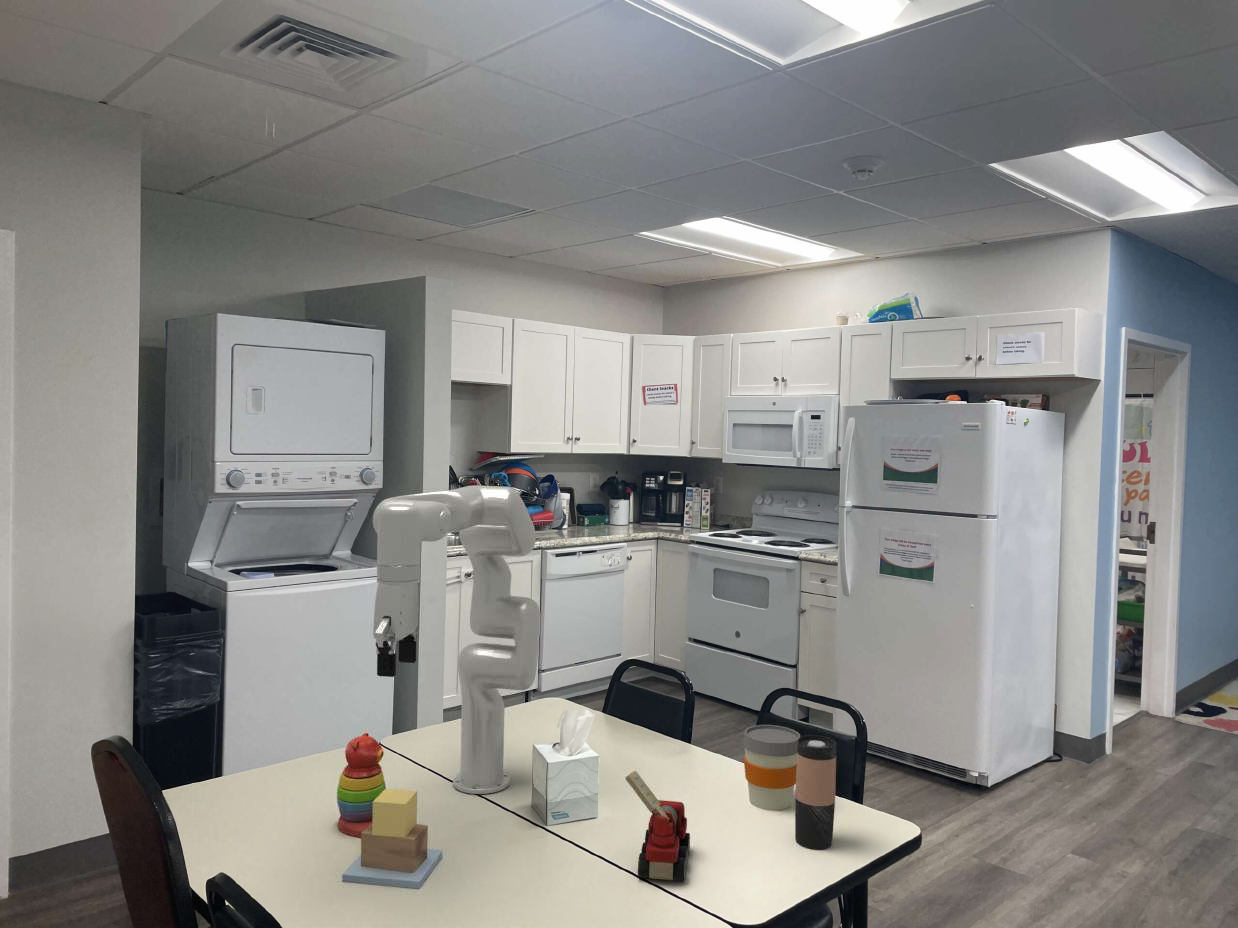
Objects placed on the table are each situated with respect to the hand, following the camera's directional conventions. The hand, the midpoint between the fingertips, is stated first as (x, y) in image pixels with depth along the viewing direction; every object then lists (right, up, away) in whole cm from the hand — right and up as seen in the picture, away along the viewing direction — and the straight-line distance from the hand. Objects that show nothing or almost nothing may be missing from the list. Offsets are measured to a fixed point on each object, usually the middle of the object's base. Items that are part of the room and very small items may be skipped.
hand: (397, 668), depth 162 cm
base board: (-1, -36, +1) cm, 36 cm away
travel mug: (+78, -38, +16) cm, 88 cm away
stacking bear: (-11, -36, +19) cm, 42 cm away
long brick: (-1, -35, +1) cm, 35 cm away
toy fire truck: (+47, -38, +6) cm, 60 cm away
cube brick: (-1, -29, +1) cm, 29 cm away
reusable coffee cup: (+73, -37, +35) cm, 89 cm away
